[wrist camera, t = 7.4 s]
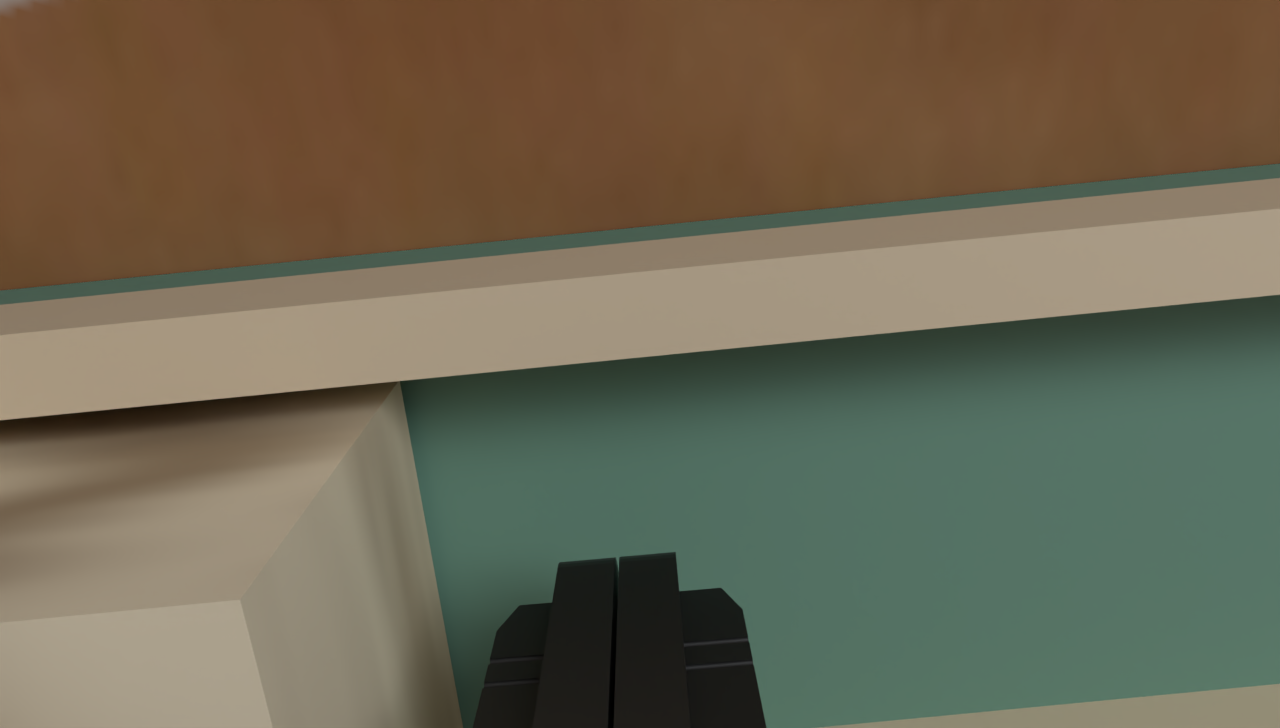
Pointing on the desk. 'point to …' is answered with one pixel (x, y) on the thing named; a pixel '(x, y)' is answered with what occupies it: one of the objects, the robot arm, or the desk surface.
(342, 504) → the cream knobbed cube
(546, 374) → the rail
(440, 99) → the desk surface
